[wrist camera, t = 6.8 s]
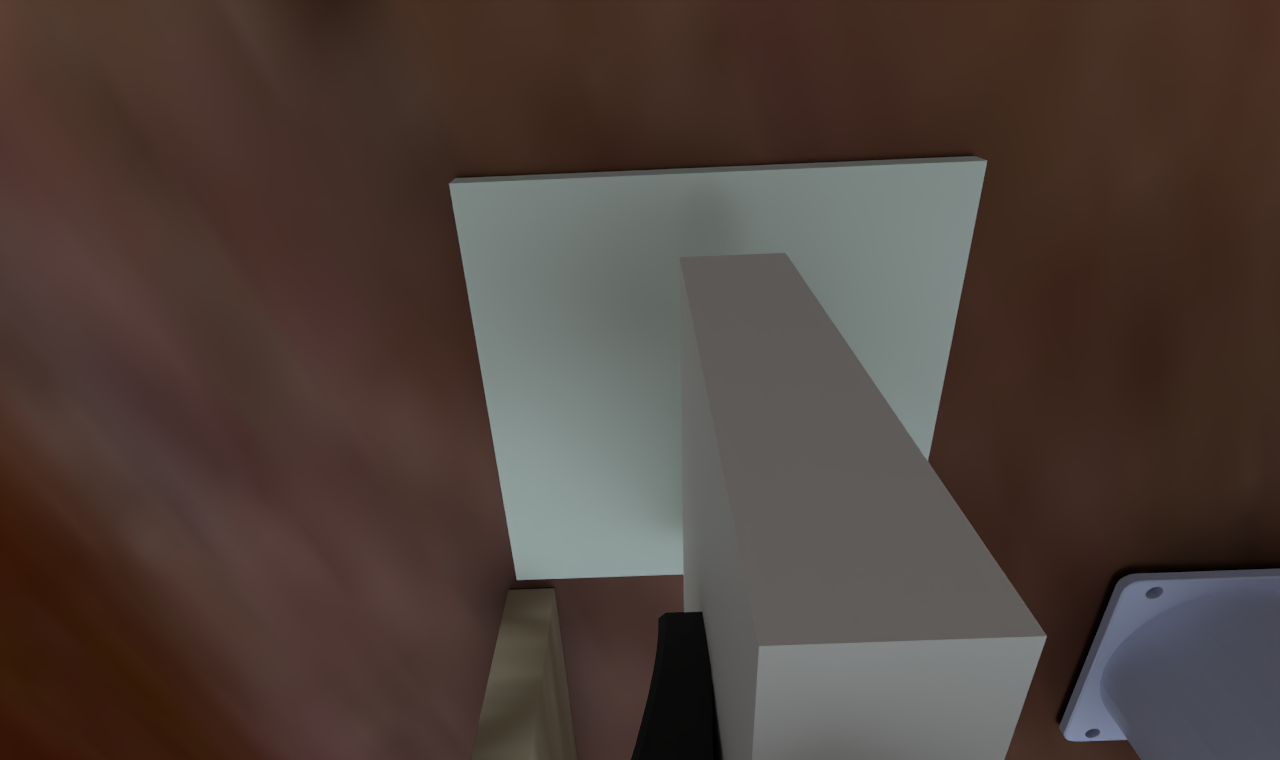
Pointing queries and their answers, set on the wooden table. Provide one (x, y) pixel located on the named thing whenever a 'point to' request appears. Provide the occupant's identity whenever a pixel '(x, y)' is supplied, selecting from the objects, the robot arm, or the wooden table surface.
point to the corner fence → (527, 685)
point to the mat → (650, 324)
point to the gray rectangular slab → (829, 545)
